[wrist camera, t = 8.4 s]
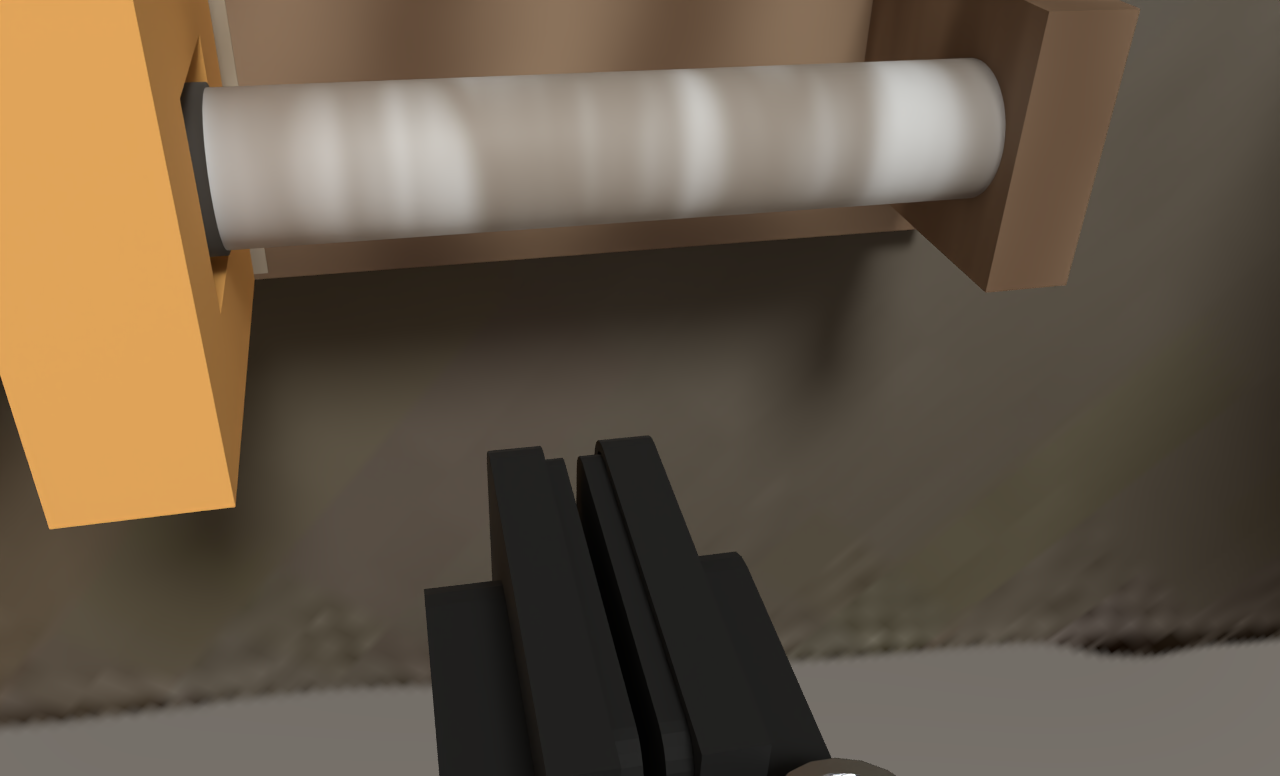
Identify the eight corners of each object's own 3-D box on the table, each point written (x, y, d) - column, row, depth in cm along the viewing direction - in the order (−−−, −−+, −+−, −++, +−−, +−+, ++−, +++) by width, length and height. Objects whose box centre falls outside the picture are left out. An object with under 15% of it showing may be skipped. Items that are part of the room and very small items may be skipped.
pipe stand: (988, -159, 28) (1216, -102, 21) (919, 213, 33) (1082, 357, 26) (-320, -173, 21) (-622, -98, 14) (-143, 291, 27) (-301, 508, 20)
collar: (186, -128, 22) (127, -28, 15) (254, 278, 27) (235, 506, 20) (21, -128, 21) (-128, -24, 14) (121, 289, 26) (49, 529, 19)
